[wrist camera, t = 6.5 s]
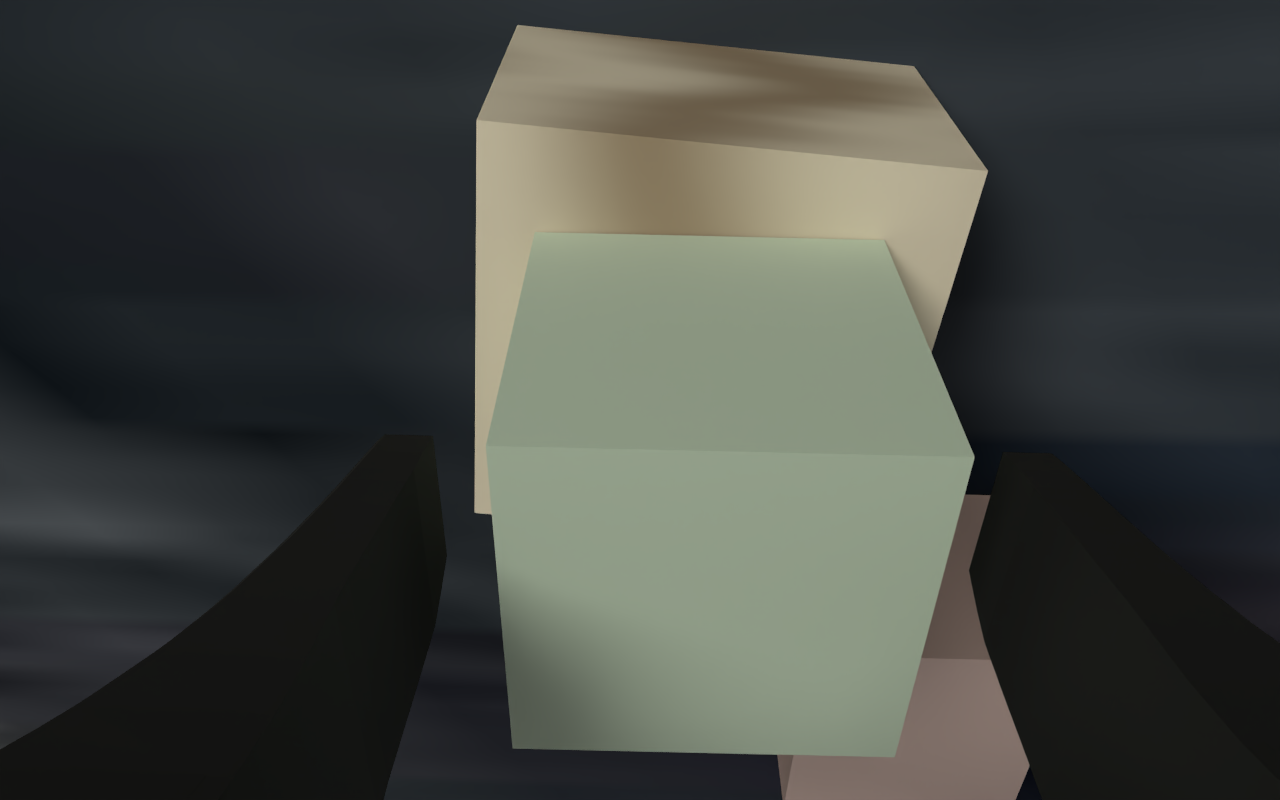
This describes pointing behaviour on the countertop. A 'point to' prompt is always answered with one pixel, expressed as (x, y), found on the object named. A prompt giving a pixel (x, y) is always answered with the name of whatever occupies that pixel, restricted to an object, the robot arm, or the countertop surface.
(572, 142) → the base block
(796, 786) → the pink cube
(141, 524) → the countertop surface
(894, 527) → the sage cube
